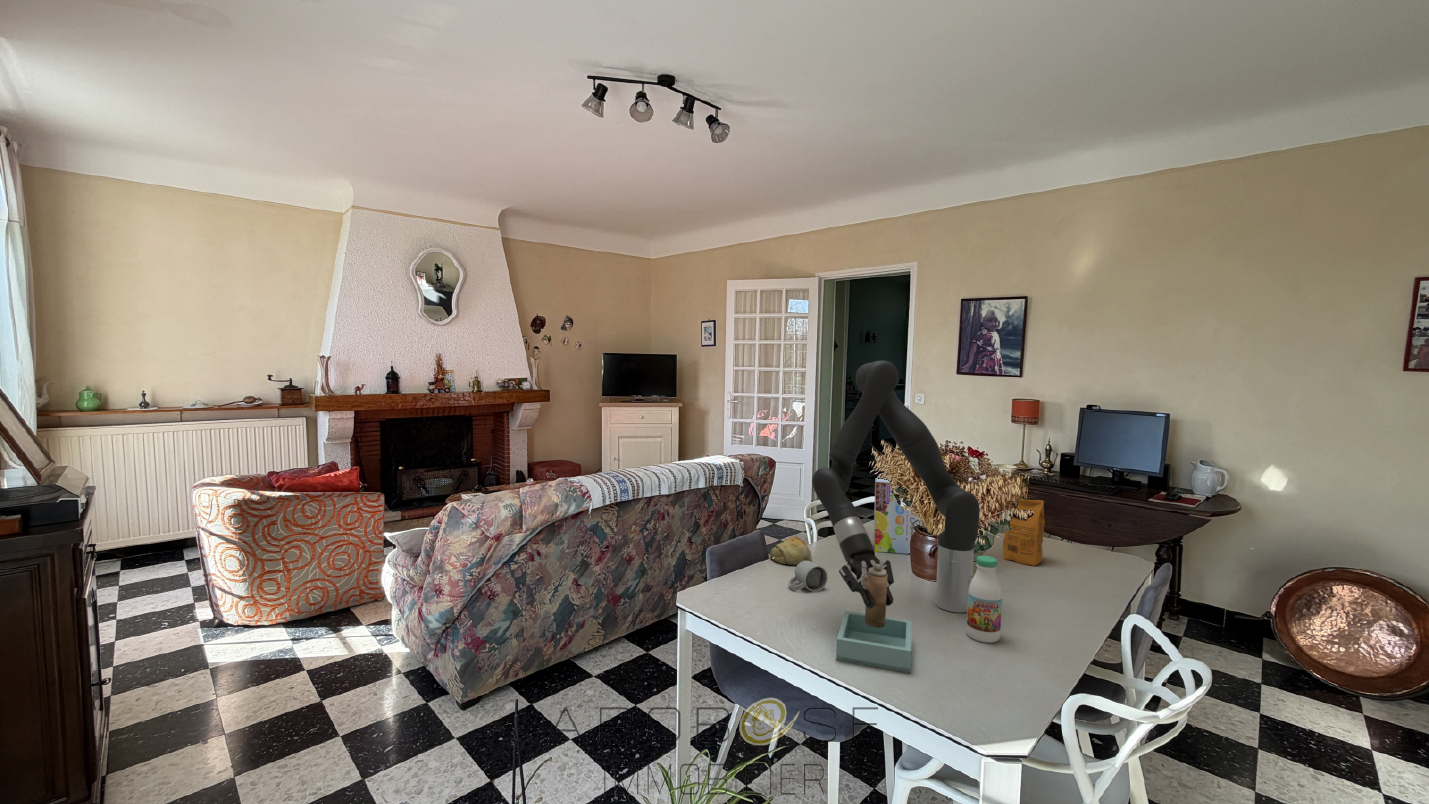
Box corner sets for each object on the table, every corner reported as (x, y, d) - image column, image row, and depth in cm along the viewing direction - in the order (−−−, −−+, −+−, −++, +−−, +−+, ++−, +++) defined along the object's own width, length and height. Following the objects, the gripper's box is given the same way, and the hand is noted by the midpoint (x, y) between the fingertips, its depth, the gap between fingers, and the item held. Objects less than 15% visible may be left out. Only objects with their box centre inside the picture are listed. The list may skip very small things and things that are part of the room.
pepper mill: (885, 621, 140) (888, 562, 139) (884, 629, 136) (887, 568, 135) (865, 617, 142) (868, 559, 141) (864, 625, 137) (866, 565, 136)
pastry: (817, 559, 203) (818, 536, 202) (803, 570, 192) (803, 546, 192) (780, 552, 210) (781, 530, 210) (764, 562, 200) (765, 538, 199)
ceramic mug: (813, 580, 183) (813, 556, 182) (827, 590, 175) (828, 565, 175) (783, 585, 179) (783, 560, 179) (796, 595, 172) (796, 569, 171)
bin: (910, 640, 144) (911, 621, 144) (910, 673, 129) (911, 651, 129) (844, 630, 150) (844, 611, 149) (836, 660, 134) (836, 638, 134)
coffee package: (1009, 552, 213) (1012, 492, 212) (1046, 561, 204) (1050, 499, 203) (997, 558, 207) (1000, 496, 205) (1035, 568, 198) (1039, 503, 196)
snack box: (934, 549, 215) (937, 480, 213) (937, 557, 207) (940, 485, 205) (872, 544, 220) (875, 476, 218) (873, 552, 211) (876, 481, 210)
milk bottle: (961, 628, 151) (964, 552, 150) (991, 629, 151) (995, 553, 150) (973, 643, 144) (977, 563, 142) (1005, 644, 143) (1010, 563, 142)
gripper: (834, 534, 142) (862, 603, 131) (884, 529, 147) (914, 595, 137) (822, 549, 147) (847, 616, 137) (870, 544, 152) (898, 608, 142)
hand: (880, 605), depth 137 cm, fingers closed on pepper mill, 4 cm apart
